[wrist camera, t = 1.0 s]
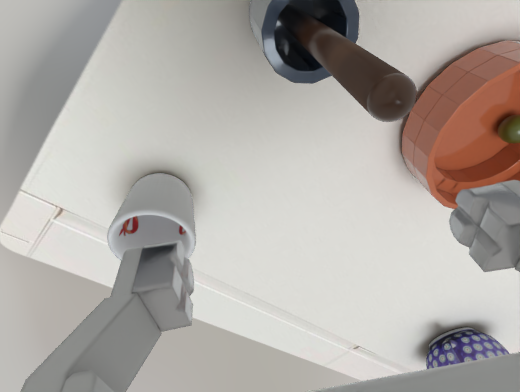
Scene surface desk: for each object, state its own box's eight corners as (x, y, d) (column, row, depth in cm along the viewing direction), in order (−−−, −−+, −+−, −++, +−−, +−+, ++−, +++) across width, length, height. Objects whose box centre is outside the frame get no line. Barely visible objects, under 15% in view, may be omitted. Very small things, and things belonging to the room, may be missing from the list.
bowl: (433, 34, 29) (476, 49, 24) (584, 43, 31) (651, 59, 26) (380, 181, 39) (403, 212, 34) (498, 180, 41) (536, 209, 36)
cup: (195, 237, 41) (192, 289, 34) (130, 235, 39) (114, 289, 33) (200, 166, 34) (197, 214, 28) (122, 160, 33) (101, 209, 27)
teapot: (396, 334, 63) (438, 423, 51) (472, 300, 58) (538, 388, 46) (436, 371, 76) (478, 448, 64) (501, 345, 71) (559, 423, 59)
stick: (278, 2, 25) (385, 79, 9) (297, 3, 25) (434, 81, 10) (275, 24, 26) (370, 129, 10) (294, 25, 26) (415, 130, 11)
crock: (250, -35, 24) (265, -31, 17) (327, -28, 25) (371, -22, 18) (246, 49, 28) (258, 81, 21) (314, 52, 29) (347, 85, 22)
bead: (499, 109, 34) (521, 121, 31) (524, 110, 34) (548, 122, 32) (485, 135, 35) (505, 148, 33) (509, 135, 36) (530, 148, 33)
